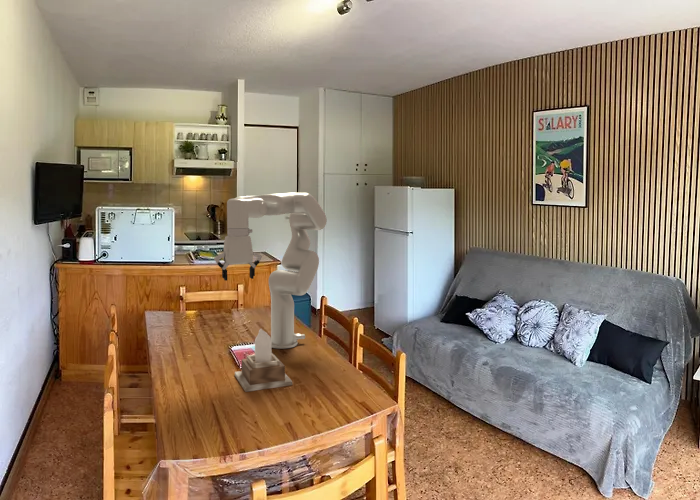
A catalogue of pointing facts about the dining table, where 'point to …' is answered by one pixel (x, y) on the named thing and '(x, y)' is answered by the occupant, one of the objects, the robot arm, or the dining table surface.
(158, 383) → the dining table surface
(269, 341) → the roll
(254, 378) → the tower base
